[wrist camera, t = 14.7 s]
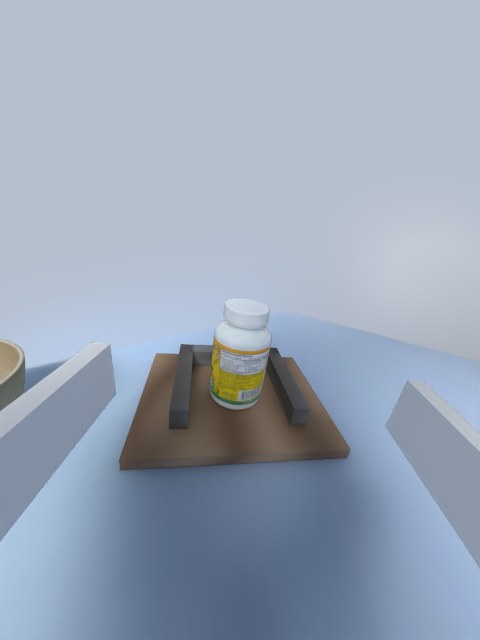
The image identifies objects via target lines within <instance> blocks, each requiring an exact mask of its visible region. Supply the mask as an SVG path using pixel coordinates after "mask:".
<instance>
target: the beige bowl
mask: <svg viewBox="0 0 480 640" xmlns="http://www.w3.org/2000/svg"><path fill="white" fill-rule="evenodd" d="M24 381H25V358H24V352H23V350H22V349H21V348H20V347H19V346H18V345H16V344H14V343H12V342H10V341H7V340H3V339H0V411H1V410H3V409H4V408H5V407H7V406H8V405H9V404H11V403H12V402H13V401H14V400H16V399H17V398H18V397H20V396H21V395H22V394H23V389H24Z"/></svg>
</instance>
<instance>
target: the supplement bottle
mask: <svg viewBox="0 0 480 640" xmlns="http://www.w3.org/2000/svg"><path fill="white" fill-rule="evenodd" d="M269 312H270V309H269V308H268V306H266V305H265V304H263V303H260V302H258V301H253V300H249V299H231V300H228V301H226V303H225V308H224V318H225V320H224V321H222V322H221V323H219V324H218V326H217V327H216V329H215V333H214V343H213V353H212V363H211V374H210V385H209V389H210V393H211V396H212V398H213V399H214V400H215V401H216V402H217V403H218V404H219V405H221V406H223V407H225V408H228V409H233V410H242V409H247V408H249V407H251V406H253V405H254V404H256V402H257V401H258V400H259V398H260V395H261V390H262V385H263V380H264V375H265V370H266V365H267V360H268V355H269V351H270V346H271V341H272V337H271V333H270V331H269V330H268V329H267V328H266V327H265V326H266V325H267V323H268V318H269Z"/></svg>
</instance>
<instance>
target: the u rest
mask: <svg viewBox="0 0 480 640" xmlns="http://www.w3.org/2000/svg"><path fill="white" fill-rule="evenodd" d="M212 353H213V346H212V345H186V344H181V346H180V352H179V354H161V353H156V356H155V359H154V361H153V364H152V367H151V370H150V373H149V376H148V379H147V382H146V385H145V387H144V390H143V393H142V396H141V399H140V402H139V405H138V408H137V411H136V413H135V416H134V419H133V422H132V425H131V428H130V431H129V434H128V436H127V439H126V442H125V445H124V448H123V451H122V454H121V457H120V460H119V463H120V470H130V469H148V468H166V467H184V466H202V465H221V464H239V463H257V462H275V461H293V460H312V459H330V458H347V456H348V454H349V452H350V450H351V449H350V448H349V446H348V445H347V443H346V441H345V440H344V438H343V437H342V435H341V434H340V432H339V430H338V429H337V427H336V426H335V424H334V423H333V421H332V419H331V418H330V416H329V415H328V413H327V412H326V410H325V408H324V407H323V405H322V404H321V402H320V401H319V399H318V397H317V396H316V394H315V393H314V391H313V390H312V388H311V386H310V385H309V383H308V382H307V380H306V379H305V377H304V375H303V374H302V372H301V371H300V369H299V368H298V366H297V364H296V363H295V361H294V360H293V358H286V357H281V355H280V354H279V352H278V350H277V348H270V351H269V355H268V360H267V365H266V370H265V375H264V380H263V385H262V390H261V395H260V398H259V400H258V401H257V402H256V404H254V405H253V406H251V407H249V408H247V409H242V410H233V409H228V408H225V407H223V406H221V405H219V404H218V403H217V402H216V401H215V400H214V399H213V398H212V396H211V393H210V389H209V385H210V374H211V363H212Z"/></svg>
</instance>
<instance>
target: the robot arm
mask: <svg viewBox="0 0 480 640" xmlns="http://www.w3.org/2000/svg"><path fill="white" fill-rule="evenodd" d="M115 395H116V390H115V382H114V373H113V365H112V356H111V348H110V344H107V343H99V342H91V343H90V344H89V345H88V346H86V347H85V348H84V349H82V350H81V351H80V352H78V353H77V354H76V355H74V356H73V357H72V358H70V359H69V360H68V361H66V362H65V363H64V364H62V365H61V366H60V367H58V368H57V369H56V370H54V371H53V372H52V373H50V374H49V375H48V376H46V377H45V378H44V379H42V380H41V381H40V382H38V383H37V384H36V385H34V386H33V387H32V388H30V389H29V390H28V391H26V392H25V393H24V394H22V395H21V396H20V397H18V398H17V399H16V400H14V401H13V402H12V403H11V404H9V405H8V406H7V407H5V408H4V409H3V410H1V411H0V541H1V540H2V539H3V538H4V536H5V535H6V534H7V532H8V531H9V530H10V529H11V527H12V526H13V525H14V523H15V522H16V521H17V520H18V518H19V517H20V516H21V515H22V513H23V512H24V511H25V509H26V508H27V507H28V506H29V504H30V503H31V502H32V501H33V499H34V498H35V497H36V495H37V494H38V493H39V492H40V490H41V489H42V488H43V486H44V485H45V484H46V483H47V481H48V480H49V479H50V478H51V476H52V475H53V474H54V472H55V471H56V470H57V469H58V467H59V466H60V465H61V463H62V462H63V461H64V460H65V458H66V457H67V456H68V455H69V453H70V452H71V451H72V449H73V448H74V447H75V446H76V444H77V443H78V442H79V441H80V439H81V438H82V437H83V435H84V434H85V433H86V432H87V430H88V429H89V428H90V426H91V425H92V424H93V423H94V421H95V420H96V419H97V418H98V416H99V415H100V414H101V412H102V411H103V410H104V409H105V407H106V406H107V405H108V403H109V402H110V401H111V400H112V398H113V397H114V396H115ZM385 427H386V428H387V430H388V431H389V433H390V434H391V436H392V437H393V439H394V440H395V442H396V443H397V445H398V446H399V448H400V449H401V451H402V452H403V454H404V455H405V457H406V458H407V460H408V461H409V463H410V464H411V466H412V467H413V469H414V470H415V472H416V473H417V475H418V476H419V478H420V479H421V481H422V482H423V484H424V485H425V487H426V488H427V490H428V491H429V493H430V494H431V496H432V497H433V499H434V500H435V502H436V503H437V505H438V506H439V508H440V509H441V511H442V512H443V514H444V515H445V517H446V518H447V520H448V521H449V523H450V524H451V526H452V527H453V529H454V530H455V532H456V533H457V535H458V536H459V538H460V539H461V541H462V542H463V544H464V545H465V547H466V548H467V550H468V551H469V553H470V554H471V556H472V557H473V559H474V560H475V562H476V563H477V565H478V566H479V568H480V432H479V431H478V430H477V429H476V428H475V427H474V426H472V425H471V424H470V423H469V422H468V421H467V420H466V419H465V418H464V417H463V416H461V415H460V414H459V413H458V412H457V411H456V410H455V409H454V408H453V407H452V406H450V405H449V404H448V403H447V402H446V401H445V400H444V399H443V398H442V397H440V396H439V395H438V394H437V393H436V392H435V391H434V390H433V389H432V388H431V387H429V386H428V385H427V384H426V383H425V382H418V381H410V380H408V381H407V383H406V385H405V387H404V389H403V391H402V393H401V395H400V397H399V399H398V401H397V403H396V405H395V407H394V409H393V411H392V413H391V415H390V417H389V419H388V421H387V423H386V425H385Z"/></svg>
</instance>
